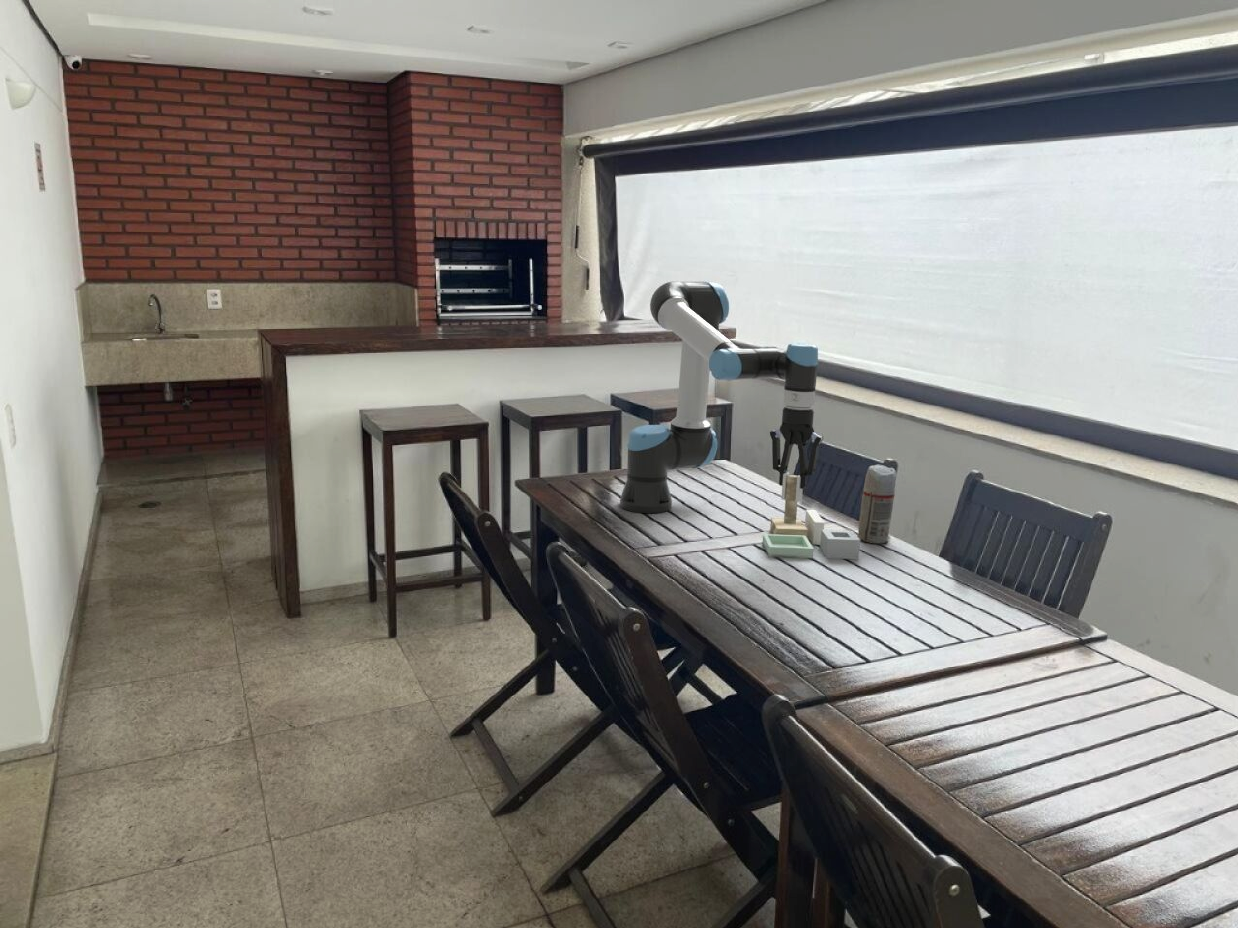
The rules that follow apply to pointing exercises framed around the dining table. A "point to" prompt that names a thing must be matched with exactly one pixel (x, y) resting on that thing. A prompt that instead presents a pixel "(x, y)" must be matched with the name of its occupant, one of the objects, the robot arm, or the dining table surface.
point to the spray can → (877, 504)
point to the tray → (787, 546)
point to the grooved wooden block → (787, 527)
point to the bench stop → (814, 526)
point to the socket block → (840, 544)
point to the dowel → (790, 500)
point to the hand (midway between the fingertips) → (791, 499)
